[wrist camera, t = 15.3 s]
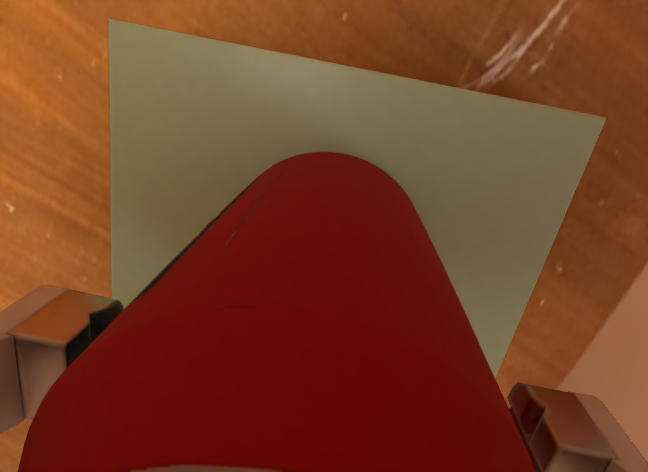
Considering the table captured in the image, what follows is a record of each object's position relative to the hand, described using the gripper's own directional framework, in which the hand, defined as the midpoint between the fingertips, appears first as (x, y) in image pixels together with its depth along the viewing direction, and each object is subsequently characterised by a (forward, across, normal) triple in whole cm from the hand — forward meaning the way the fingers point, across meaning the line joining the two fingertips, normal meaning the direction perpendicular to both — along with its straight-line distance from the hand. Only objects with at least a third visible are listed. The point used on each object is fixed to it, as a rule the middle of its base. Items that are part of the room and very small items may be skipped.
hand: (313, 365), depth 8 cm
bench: (+12, 0, 0) cm, 12 cm away
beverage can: (+7, 0, 0) cm, 7 cm away
